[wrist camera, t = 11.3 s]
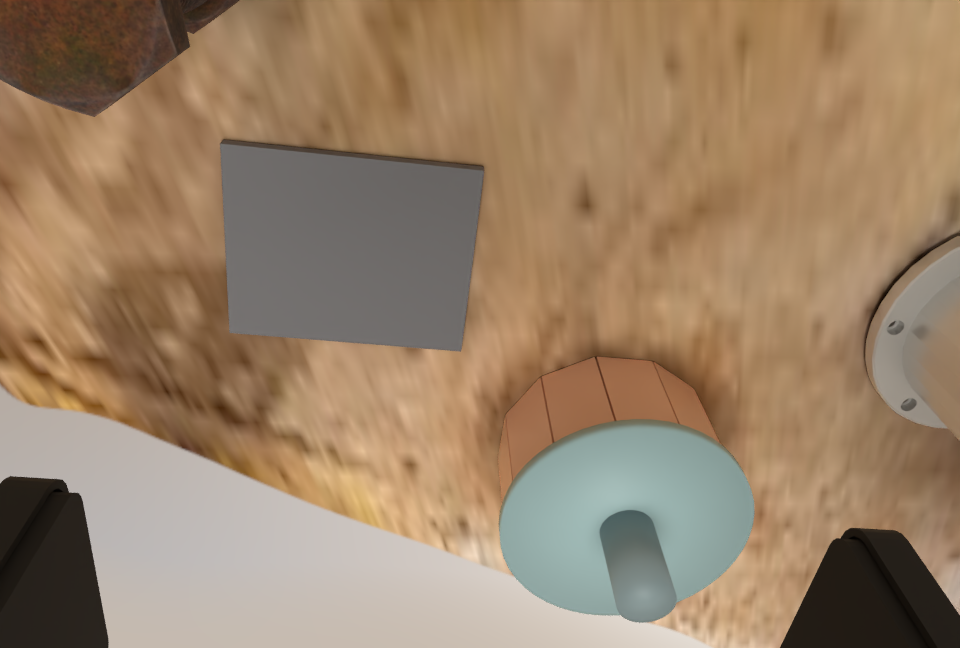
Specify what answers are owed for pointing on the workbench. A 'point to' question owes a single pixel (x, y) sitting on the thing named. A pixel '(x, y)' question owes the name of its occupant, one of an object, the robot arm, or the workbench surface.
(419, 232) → the mat
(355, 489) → the workbench surface
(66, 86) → the bolt
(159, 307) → the workbench surface
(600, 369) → the bowl
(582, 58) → the workbench surface
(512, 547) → the lid
